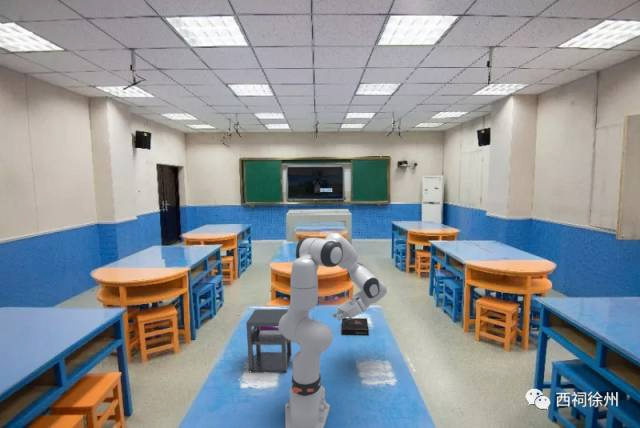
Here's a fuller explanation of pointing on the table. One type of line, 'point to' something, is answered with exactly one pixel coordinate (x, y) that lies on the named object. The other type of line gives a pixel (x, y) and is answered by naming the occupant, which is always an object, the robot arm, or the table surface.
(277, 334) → the strip
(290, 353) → the rack
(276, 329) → the mounting bracket
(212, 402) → the table surface
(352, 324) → the portable cd player
